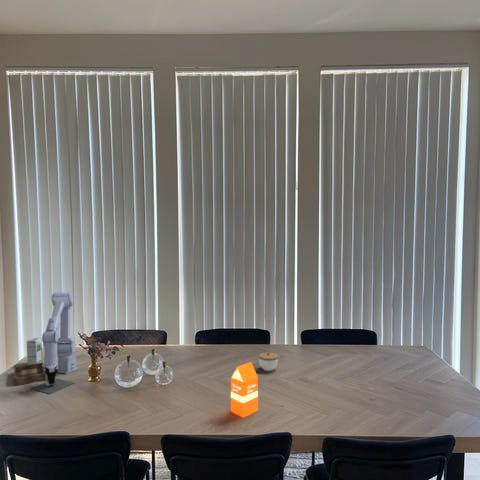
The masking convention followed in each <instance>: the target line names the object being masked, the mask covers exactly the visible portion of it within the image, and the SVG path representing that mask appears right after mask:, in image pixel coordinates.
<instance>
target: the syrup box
mask: <svg viewBox="0 0 480 480" xmlns="http://www.w3.org/2000/svg"><path fill="white" fill-rule="evenodd" d="M42 346H43V342H42V337H32V338H30V339H28V340H26V362H27V364H26V365H30V364H36V363H42V362H43V352H42V351H43V350H42V349H43V347H42Z"/></svg>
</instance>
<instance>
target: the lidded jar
mask: <svg viewBox="0 0 480 480" xmlns="http://www.w3.org/2000/svg"><path fill="white" fill-rule="evenodd" d="M258 361H259V363H258V364H259V365H260V367H261V369H262V370H263V371H265V372H272V371H274V370H275V369H276V368H277V366H278V362H279V356H278V354H277V353H275V352H269V351H268V352H262V353H259V354H258Z"/></svg>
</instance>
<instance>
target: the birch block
mask: <svg viewBox="0 0 480 480" xmlns="http://www.w3.org/2000/svg"><path fill="white" fill-rule="evenodd" d="M56 379H57V375H56V376H55V381H54V384H56ZM45 382H46V386H48V385H54V384H49V381H48V377H47V375H46V380H45Z"/></svg>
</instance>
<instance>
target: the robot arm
mask: <svg viewBox="0 0 480 480" xmlns="http://www.w3.org/2000/svg"><path fill="white" fill-rule="evenodd" d="M51 303H52V306H53V309H52V316H51V317H50V318H49V319H48V322H47V325H46V329H45V331H44V332H43V333H42V336H41V343H42V346H43V347H42V348H43V350H44V353H43V356H44V357H43V358H44V363H43V364H42V367H44V369H45V373H46V375H47V377H48V381H49V384H54V381H55V376H56V377H57V373H59V374H60V373H61V374H67V375H68V374H69V373H72V372H74V371H77V370H79V368H78V367H77V365H78V363H77V357H76V356H75V355H74V354H75V351H76V348H77V347H76V345H77V344H76V340H75V338H73V337H72V336H70V334H71V332H70V331H71V329H70V328H71V327H70V326H71V324H70V323H71V322H70V319H71V317H70V316H71V315H70V314H71V308H72V307H73V306H74V293H73V292H71V291H69V292H68V291H67V292H53V293H52V294H51Z"/></svg>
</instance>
